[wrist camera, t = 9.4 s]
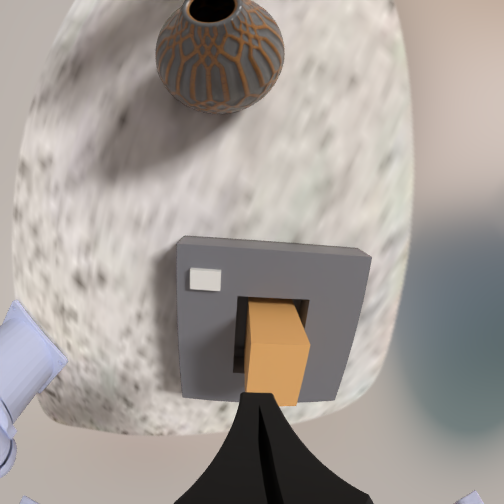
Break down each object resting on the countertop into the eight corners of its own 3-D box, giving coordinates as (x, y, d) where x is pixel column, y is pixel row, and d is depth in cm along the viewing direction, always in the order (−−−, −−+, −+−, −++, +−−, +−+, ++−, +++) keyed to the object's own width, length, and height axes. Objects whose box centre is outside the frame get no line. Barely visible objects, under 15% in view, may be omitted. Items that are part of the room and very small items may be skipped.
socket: (327, 382, 22) (335, 403, 19) (187, 378, 21) (181, 400, 19) (357, 248, 19) (374, 258, 16) (184, 235, 18) (175, 245, 16)
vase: (153, 94, 16) (95, 42, 7) (212, 23, 15) (198, -55, 6) (237, 143, 17) (233, 109, 9) (295, 67, 16) (331, -3, 7)
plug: (283, 351, 20) (296, 405, 15) (243, 350, 20) (245, 405, 14) (291, 298, 19) (310, 344, 13) (248, 296, 19) (251, 343, 13)
